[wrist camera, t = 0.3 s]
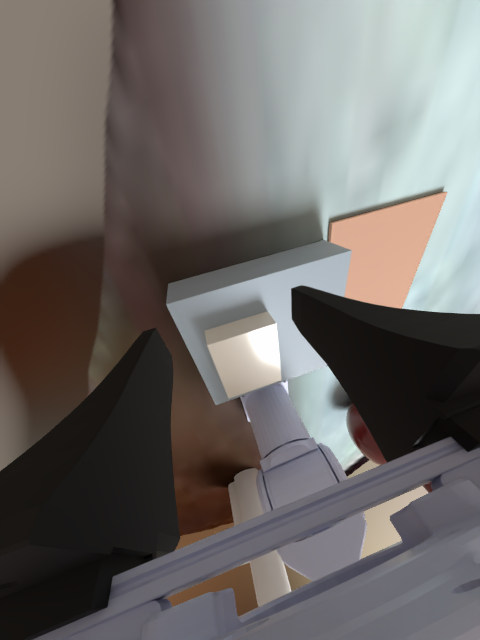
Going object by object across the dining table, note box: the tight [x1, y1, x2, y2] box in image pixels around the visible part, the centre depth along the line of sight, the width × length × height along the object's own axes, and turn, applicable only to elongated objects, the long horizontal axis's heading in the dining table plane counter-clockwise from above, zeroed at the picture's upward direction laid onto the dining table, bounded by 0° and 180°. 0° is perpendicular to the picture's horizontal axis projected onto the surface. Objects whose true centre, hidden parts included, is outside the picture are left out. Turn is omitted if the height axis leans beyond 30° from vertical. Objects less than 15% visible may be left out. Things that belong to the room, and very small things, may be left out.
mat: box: [328, 192, 447, 309], centre depth 25 cm, size 18×13×1 cm
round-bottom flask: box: [346, 402, 433, 493], centre depth 35 cm, size 13×13×20 cm
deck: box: [166, 240, 352, 405], centre depth 22 cm, size 15×16×4 cm
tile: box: [205, 311, 282, 398], centre depth 19 cm, size 8×6×2 cm
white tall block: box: [228, 468, 291, 607], centre depth 45 cm, size 11×7×20 cm, turn 162°
